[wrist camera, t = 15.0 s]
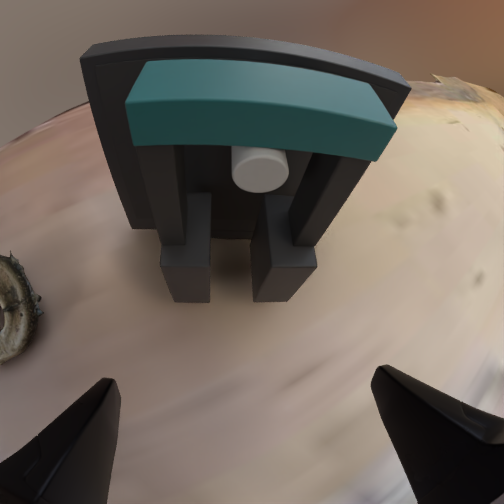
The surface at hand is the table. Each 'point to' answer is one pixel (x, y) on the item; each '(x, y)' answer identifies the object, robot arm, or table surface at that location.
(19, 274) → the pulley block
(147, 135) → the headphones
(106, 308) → the table surface
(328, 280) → the table surface
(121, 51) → the dark panel
